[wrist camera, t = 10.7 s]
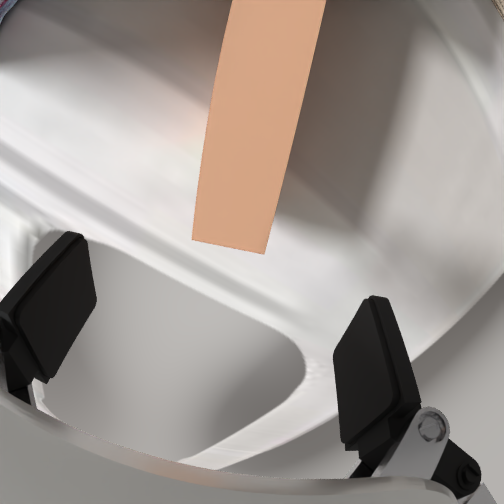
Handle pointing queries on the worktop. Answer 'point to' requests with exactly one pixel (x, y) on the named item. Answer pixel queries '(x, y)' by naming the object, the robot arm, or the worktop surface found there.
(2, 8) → the lunch bag
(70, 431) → the robot arm
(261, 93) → the orange rectangular block
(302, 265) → the worktop surface
